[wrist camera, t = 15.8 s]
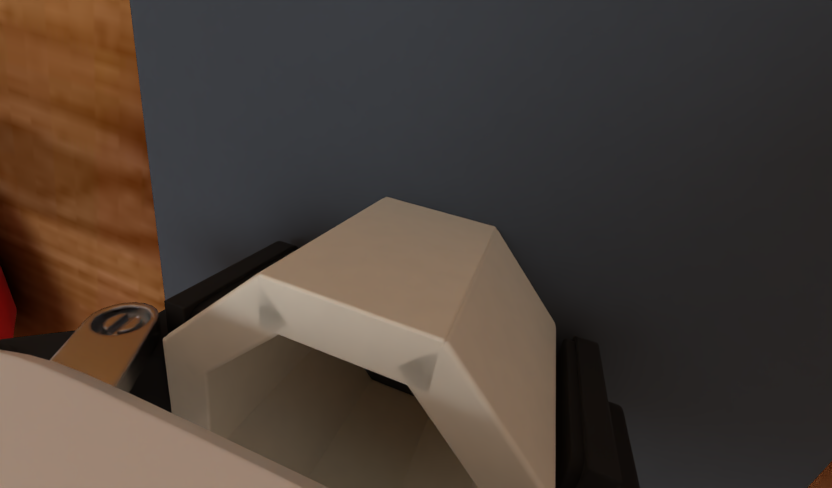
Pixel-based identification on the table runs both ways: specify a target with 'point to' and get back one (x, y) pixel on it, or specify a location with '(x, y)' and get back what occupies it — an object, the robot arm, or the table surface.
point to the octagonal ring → (381, 358)
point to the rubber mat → (542, 182)
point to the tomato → (6, 309)
